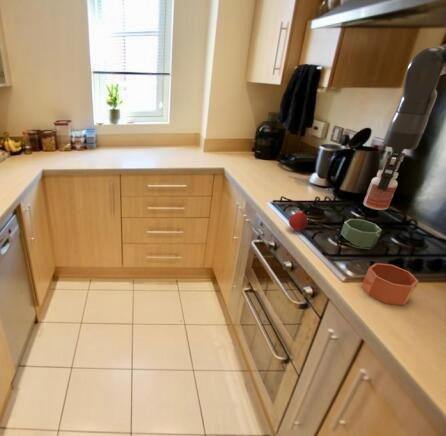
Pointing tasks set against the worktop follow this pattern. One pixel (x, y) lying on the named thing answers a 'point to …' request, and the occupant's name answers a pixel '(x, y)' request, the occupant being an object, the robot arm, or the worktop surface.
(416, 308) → the worktop surface
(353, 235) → the green pot
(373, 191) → the pill bottle
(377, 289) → the terracotta pot
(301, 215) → the onion
